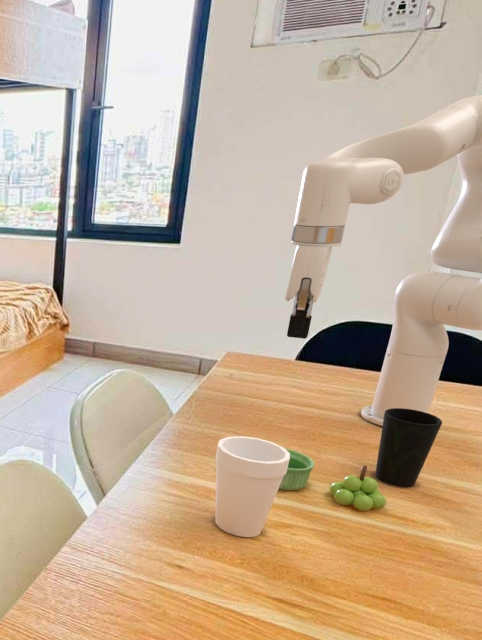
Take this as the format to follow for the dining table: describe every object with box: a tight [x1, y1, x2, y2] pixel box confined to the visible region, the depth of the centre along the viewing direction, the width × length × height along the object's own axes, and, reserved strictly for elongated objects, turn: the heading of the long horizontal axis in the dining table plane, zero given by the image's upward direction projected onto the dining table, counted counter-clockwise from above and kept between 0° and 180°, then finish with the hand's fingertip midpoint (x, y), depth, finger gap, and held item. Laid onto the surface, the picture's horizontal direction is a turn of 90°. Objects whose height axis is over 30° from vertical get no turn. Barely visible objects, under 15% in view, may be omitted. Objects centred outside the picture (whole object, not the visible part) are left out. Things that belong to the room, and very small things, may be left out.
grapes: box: [329, 464, 387, 512], centre depth 102 cm, size 8×7×7 cm
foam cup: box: [214, 435, 290, 538], centre depth 94 cm, size 10×9×13 cm
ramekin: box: [278, 447, 315, 491], centre depth 109 cm, size 9×9×4 cm
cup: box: [374, 408, 443, 488], centre depth 108 cm, size 8×8×12 cm
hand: (297, 336), depth 116 cm, fingers closed
